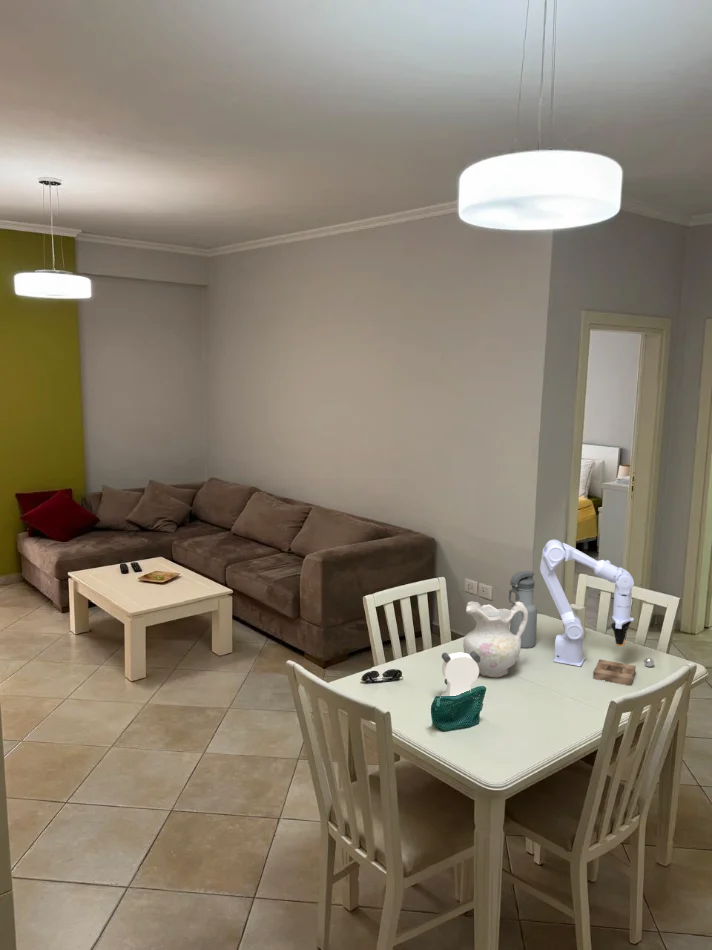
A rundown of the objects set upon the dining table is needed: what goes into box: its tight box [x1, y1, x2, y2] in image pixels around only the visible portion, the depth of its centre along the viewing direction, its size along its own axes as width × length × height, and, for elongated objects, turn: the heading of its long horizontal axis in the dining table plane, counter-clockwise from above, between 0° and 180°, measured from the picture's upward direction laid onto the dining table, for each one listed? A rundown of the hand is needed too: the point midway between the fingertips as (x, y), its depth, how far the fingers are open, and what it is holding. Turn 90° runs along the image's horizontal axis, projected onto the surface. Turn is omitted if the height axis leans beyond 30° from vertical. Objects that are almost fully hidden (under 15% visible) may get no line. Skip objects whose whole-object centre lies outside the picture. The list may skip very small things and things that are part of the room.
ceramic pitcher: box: [462, 601, 528, 679], centre depth 250 cm, size 22×20×25 cm
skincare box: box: [569, 603, 586, 638], centre depth 284 cm, size 6×4×12 cm
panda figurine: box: [440, 651, 481, 697], centre depth 228 cm, size 12×11×15 cm
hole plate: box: [592, 659, 637, 686], centre depth 247 cm, size 12×12×2 cm
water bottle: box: [508, 570, 538, 649], centre depth 274 cm, size 10×10×28 cm
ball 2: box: [643, 656, 655, 668], centre depth 255 cm, size 3×3×3 cm
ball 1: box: [614, 639, 626, 647], centre depth 256 cm, size 3×3×3 cm
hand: (620, 642), depth 256 cm, fingers closed on ball 1, 3 cm apart
